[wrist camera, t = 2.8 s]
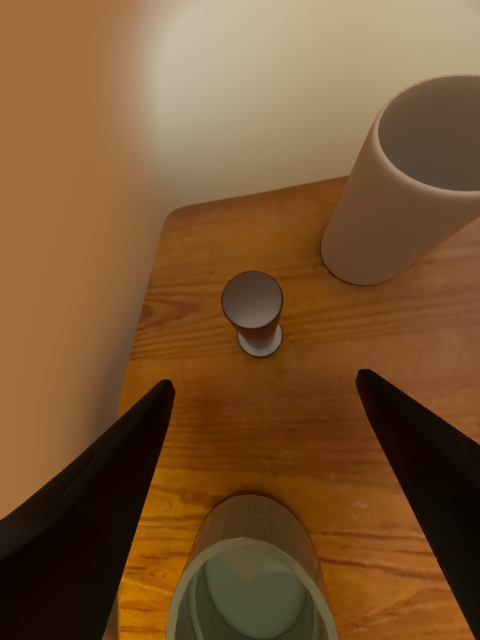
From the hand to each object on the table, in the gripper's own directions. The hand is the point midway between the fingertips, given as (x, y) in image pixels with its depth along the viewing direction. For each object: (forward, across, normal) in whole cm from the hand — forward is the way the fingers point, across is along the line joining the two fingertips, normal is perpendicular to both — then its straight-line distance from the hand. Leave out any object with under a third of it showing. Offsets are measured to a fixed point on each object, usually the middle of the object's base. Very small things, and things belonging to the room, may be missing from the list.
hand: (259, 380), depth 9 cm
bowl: (-4, +2, +18) cm, 18 cm away
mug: (+17, -13, -2) cm, 21 cm away
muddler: (+10, 0, +5) cm, 11 cm away
